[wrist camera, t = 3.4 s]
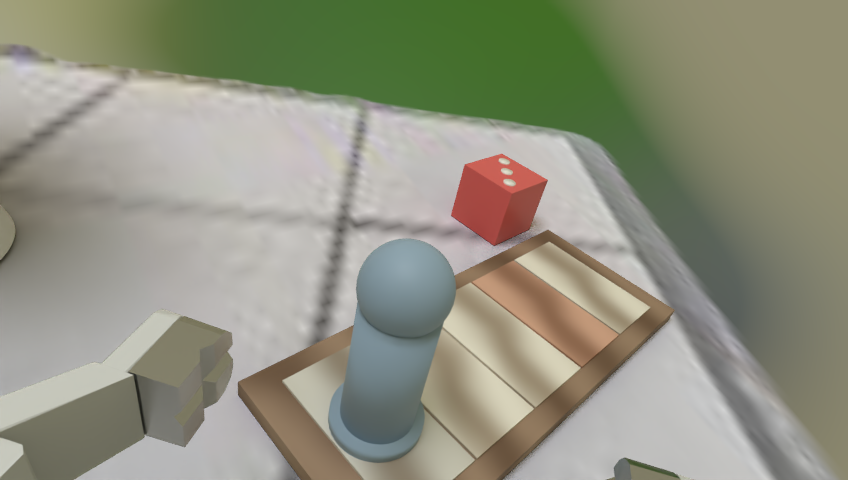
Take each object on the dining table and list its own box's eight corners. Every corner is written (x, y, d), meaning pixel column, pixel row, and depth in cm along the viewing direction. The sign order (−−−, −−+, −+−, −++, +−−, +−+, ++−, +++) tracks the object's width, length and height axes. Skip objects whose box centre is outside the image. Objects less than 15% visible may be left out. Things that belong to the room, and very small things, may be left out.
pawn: (369, 482, 28) (412, 307, 21) (308, 409, 31) (329, 233, 23) (441, 427, 31) (499, 263, 24) (381, 367, 34) (417, 204, 27)
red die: (494, 245, 51) (512, 192, 48) (451, 215, 54) (465, 163, 51) (529, 229, 55) (548, 178, 52) (487, 201, 58) (502, 152, 55)
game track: (384, 592, 25) (389, 579, 24) (238, 394, 32) (238, 379, 31) (668, 319, 47) (675, 308, 46) (544, 239, 54) (548, 228, 53)
